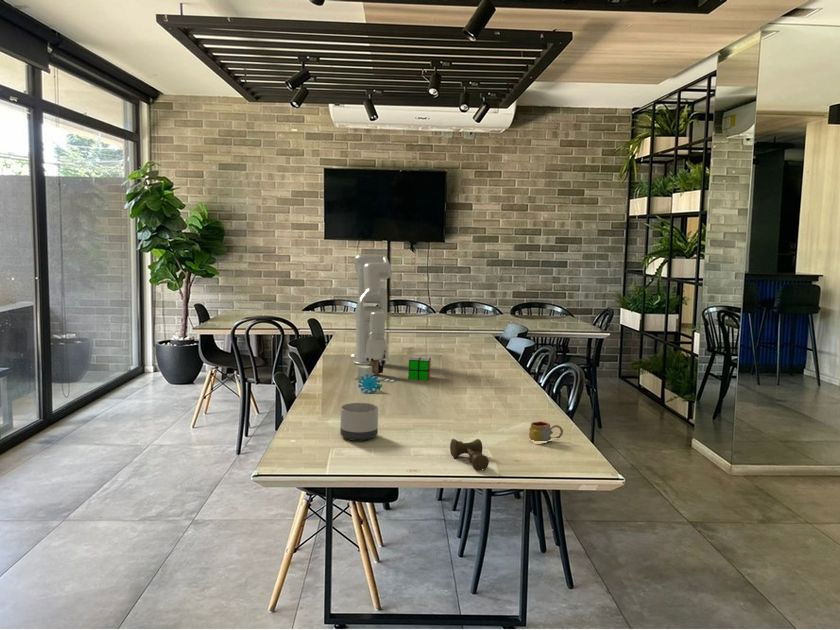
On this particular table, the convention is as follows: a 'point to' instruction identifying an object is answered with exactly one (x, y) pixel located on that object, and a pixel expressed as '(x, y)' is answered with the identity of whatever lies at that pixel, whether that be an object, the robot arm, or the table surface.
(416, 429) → the table surface
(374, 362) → the walnut block
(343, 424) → the planter
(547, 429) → the mug
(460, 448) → the kendama
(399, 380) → the coaster
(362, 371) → the pale grey-green block
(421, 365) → the puzzle cube
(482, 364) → the table surface
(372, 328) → the robot arm
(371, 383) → the blue spiky virus model
